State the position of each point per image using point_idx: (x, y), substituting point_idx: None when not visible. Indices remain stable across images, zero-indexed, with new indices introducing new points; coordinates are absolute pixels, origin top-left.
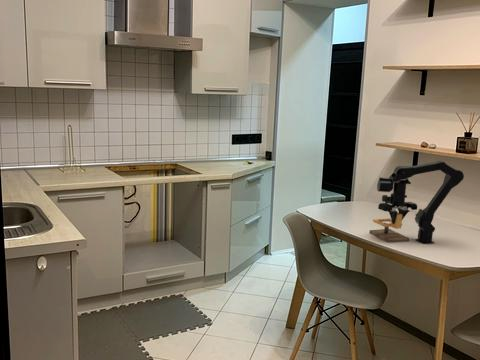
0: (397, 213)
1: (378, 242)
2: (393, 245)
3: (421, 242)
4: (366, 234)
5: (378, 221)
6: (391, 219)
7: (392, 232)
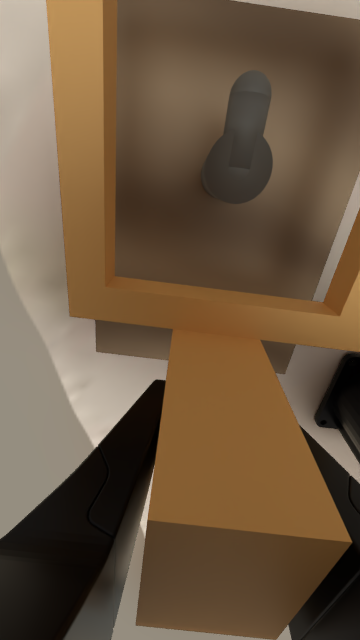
0: (245, 588)
1: (38, 305)
2: (108, 380)
3: (321, 408)
4: (42, 42)
5: (62, 107)
6: (125, 417)
7: (294, 195)
